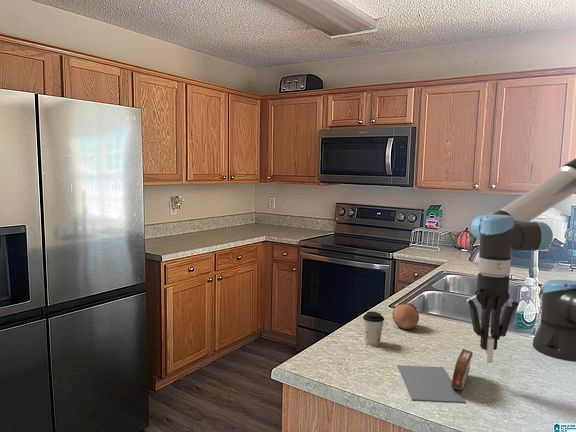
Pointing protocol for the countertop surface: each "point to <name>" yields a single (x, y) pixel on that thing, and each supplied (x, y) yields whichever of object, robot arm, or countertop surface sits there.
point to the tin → (461, 369)
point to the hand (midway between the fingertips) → (487, 360)
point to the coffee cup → (373, 327)
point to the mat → (429, 384)
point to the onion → (405, 316)
